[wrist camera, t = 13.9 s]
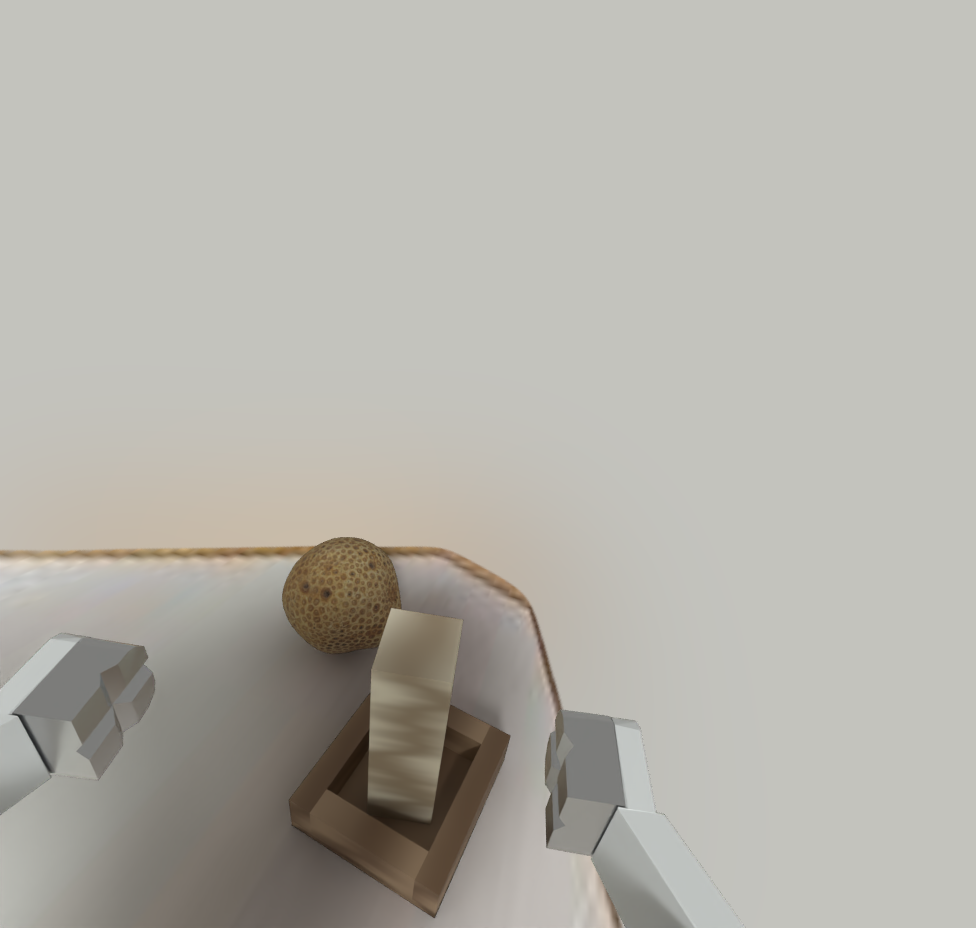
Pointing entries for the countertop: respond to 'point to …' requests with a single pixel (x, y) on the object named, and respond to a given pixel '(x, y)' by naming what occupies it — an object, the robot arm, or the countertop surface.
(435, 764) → the beige tall block
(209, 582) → the countertop surface
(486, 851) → the countertop surface
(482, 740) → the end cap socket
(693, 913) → the robot arm
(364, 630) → the natural sponge
